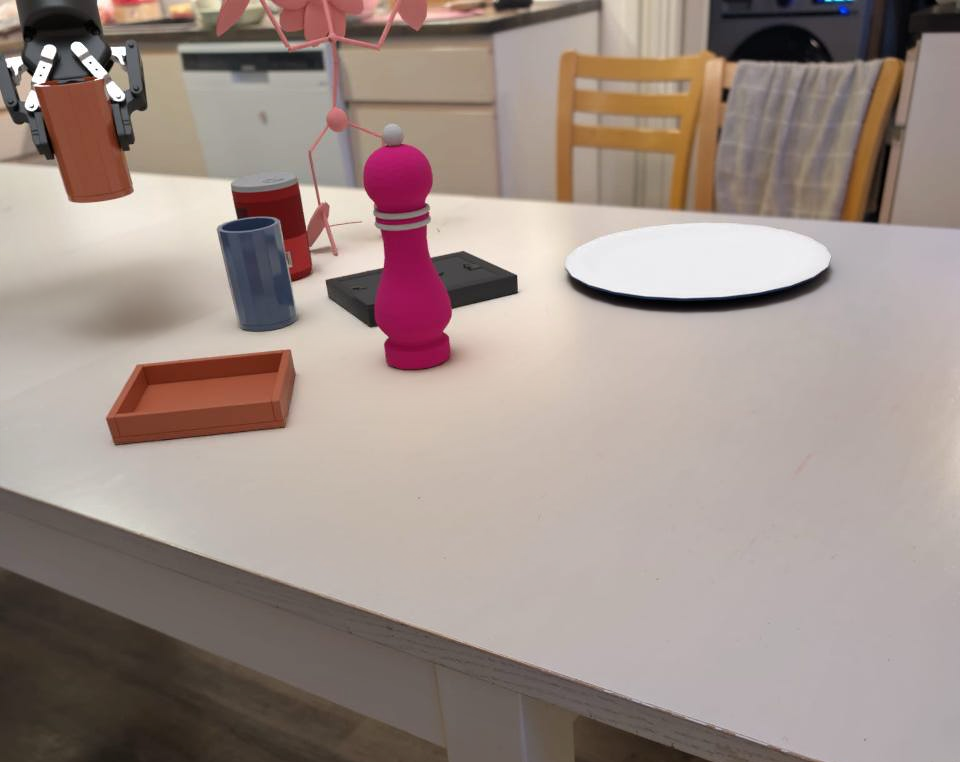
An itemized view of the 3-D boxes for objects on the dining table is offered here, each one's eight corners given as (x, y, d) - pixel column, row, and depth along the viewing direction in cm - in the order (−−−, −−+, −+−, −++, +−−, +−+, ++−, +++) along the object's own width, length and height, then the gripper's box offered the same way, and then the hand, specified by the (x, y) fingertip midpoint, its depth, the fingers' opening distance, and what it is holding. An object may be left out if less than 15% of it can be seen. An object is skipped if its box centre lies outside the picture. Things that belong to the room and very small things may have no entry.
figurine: (457, 231, 128) (431, -93, 107) (279, 269, 119) (212, -76, 98) (408, 212, 139) (376, -85, 118) (242, 245, 130) (175, -69, 109)
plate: (867, 300, 94) (870, 283, 93) (576, 322, 95) (576, 305, 94) (788, 228, 117) (790, 213, 116) (555, 246, 118) (555, 231, 117)
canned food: (326, 269, 117) (310, 173, 111) (281, 287, 112) (262, 188, 106) (282, 263, 121) (264, 170, 115) (237, 280, 116) (216, 184, 110)
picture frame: (370, 327, 98) (518, 292, 104) (367, 305, 97) (517, 271, 103) (327, 296, 108) (464, 266, 114) (324, 276, 107) (463, 247, 112)
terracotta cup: (61, 205, 92) (24, 88, 86) (77, 191, 97) (43, 80, 91) (126, 199, 92) (94, 82, 86) (139, 185, 97) (110, 74, 91)
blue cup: (235, 334, 100) (212, 235, 94) (242, 314, 105) (221, 220, 99) (295, 327, 100) (276, 228, 94) (299, 309, 105) (281, 214, 99)
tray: (114, 444, 79) (105, 418, 77) (143, 389, 89) (136, 364, 87) (285, 427, 79) (279, 400, 78) (295, 373, 89) (290, 348, 88)
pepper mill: (381, 348, 93) (350, 121, 81) (454, 341, 93) (433, 113, 81) (380, 375, 87) (346, 134, 75) (457, 367, 87) (436, 126, 75)
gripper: (-36, -27, 88) (-6, 132, 86) (122, -40, 90) (155, 113, 88) (-7, 37, 95) (22, 184, 93) (138, 23, 97) (169, 166, 95)
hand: (86, 149), depth 90 cm, fingers closed on terracotta cup, 6 cm apart
